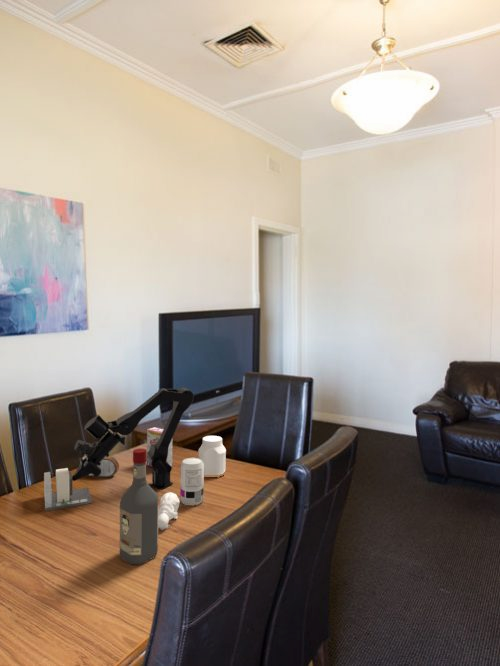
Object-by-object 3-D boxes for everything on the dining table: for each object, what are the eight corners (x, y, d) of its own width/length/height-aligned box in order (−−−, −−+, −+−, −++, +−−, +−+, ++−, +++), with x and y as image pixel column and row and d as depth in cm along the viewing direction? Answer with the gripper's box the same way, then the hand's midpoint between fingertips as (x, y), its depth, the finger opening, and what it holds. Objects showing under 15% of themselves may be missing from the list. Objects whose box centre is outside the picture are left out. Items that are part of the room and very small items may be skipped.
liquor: (142, 542, 132) (143, 443, 130) (162, 554, 126) (163, 450, 124) (115, 555, 125) (116, 450, 123) (135, 568, 119) (136, 458, 117)
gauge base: (88, 490, 168) (88, 466, 168) (91, 503, 157) (91, 478, 157) (44, 496, 162) (44, 472, 161) (45, 511, 151) (44, 485, 150)
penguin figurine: (180, 490, 149) (170, 510, 137) (181, 514, 150) (170, 535, 138) (162, 489, 150) (150, 508, 138) (162, 512, 151) (150, 533, 139)
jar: (196, 477, 183) (197, 441, 182) (199, 469, 192) (200, 434, 192) (224, 478, 183) (225, 442, 182) (226, 469, 192) (226, 435, 191)
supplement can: (175, 503, 158) (176, 462, 158) (189, 495, 166) (189, 455, 165) (194, 509, 155) (195, 466, 154) (207, 500, 162) (208, 459, 161)
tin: (119, 475, 183) (119, 455, 183) (116, 478, 180) (116, 458, 179) (84, 473, 185) (84, 453, 184) (80, 476, 181) (80, 456, 181)
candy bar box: (145, 466, 194) (146, 429, 193) (153, 463, 199) (154, 426, 198) (164, 471, 188) (165, 433, 187) (172, 468, 193) (173, 430, 192)
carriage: (70, 491, 164) (70, 467, 163) (73, 503, 154) (73, 477, 154) (55, 493, 161) (55, 469, 161) (57, 505, 152) (57, 480, 151)
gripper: (85, 425, 169) (54, 458, 165) (91, 439, 153) (56, 475, 149) (107, 443, 173) (76, 475, 169) (115, 459, 157) (81, 495, 152)
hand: (72, 480), depth 160 cm, fingers closed
